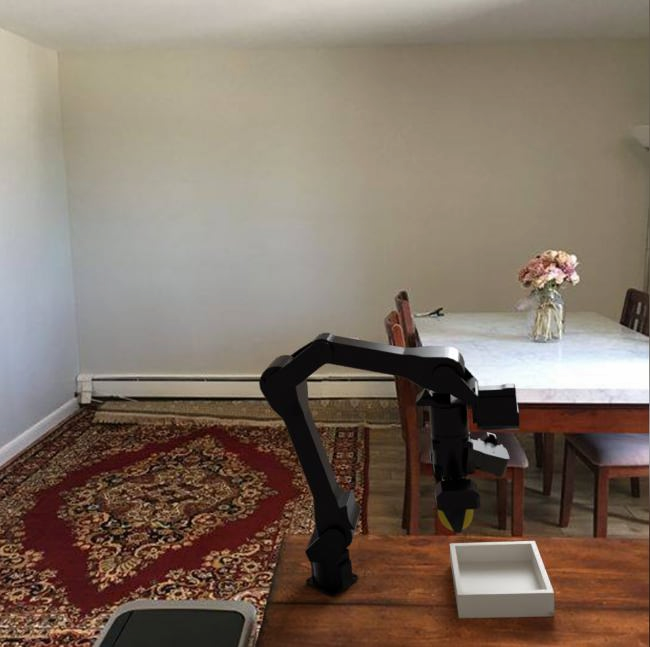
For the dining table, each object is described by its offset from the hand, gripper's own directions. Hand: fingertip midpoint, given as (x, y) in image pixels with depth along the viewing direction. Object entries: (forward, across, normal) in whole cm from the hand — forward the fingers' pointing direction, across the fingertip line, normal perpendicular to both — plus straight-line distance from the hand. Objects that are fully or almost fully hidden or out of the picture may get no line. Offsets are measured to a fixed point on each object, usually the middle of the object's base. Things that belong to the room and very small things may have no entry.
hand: (456, 522), depth 109 cm
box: (+12, -1, -6) cm, 13 cm away
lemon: (+2, 0, 0) cm, 2 cm away
